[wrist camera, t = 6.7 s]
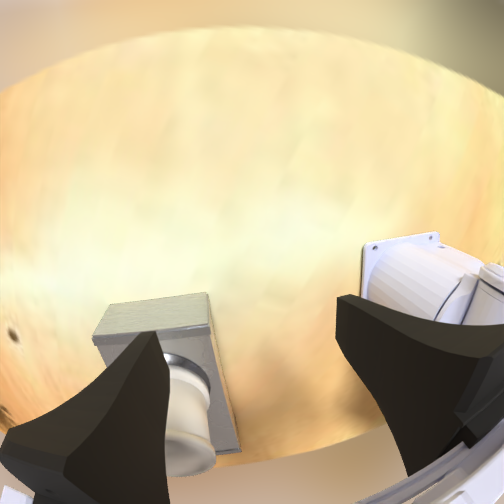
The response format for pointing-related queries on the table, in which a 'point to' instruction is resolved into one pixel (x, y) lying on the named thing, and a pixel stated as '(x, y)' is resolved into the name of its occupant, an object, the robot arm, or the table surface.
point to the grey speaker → (176, 350)
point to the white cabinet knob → (187, 425)
